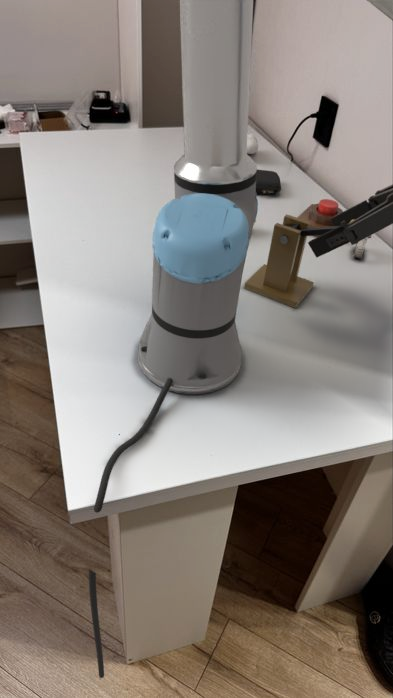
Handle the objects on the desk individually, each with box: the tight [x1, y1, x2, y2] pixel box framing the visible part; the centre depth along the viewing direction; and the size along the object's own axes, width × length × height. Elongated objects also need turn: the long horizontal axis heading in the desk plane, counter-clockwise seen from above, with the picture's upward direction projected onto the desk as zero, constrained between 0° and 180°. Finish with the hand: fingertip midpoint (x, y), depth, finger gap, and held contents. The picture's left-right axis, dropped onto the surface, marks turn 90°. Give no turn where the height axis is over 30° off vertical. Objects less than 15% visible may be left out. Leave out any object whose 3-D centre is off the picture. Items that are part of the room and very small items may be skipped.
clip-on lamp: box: [247, 133, 259, 155], centre depth 144 cm, size 12×6×18 cm
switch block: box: [297, 203, 344, 238], centre depth 114 cm, size 10×10×4 cm
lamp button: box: [318, 198, 339, 216], centre depth 112 cm, size 4×4×2 cm
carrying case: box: [256, 169, 282, 196], centre depth 127 cm, size 11×3×15 cm
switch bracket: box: [244, 214, 315, 309], centre depth 91 cm, size 10×8×13 cm
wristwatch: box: [352, 235, 373, 260], centre depth 106 cm, size 4×6×5 cm, turn 162°
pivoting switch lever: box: [285, 219, 355, 238], centre depth 86 cm, size 12×5×2 cm, turn 59°
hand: (324, 236), depth 86 cm, fingers open, 9 cm apart
